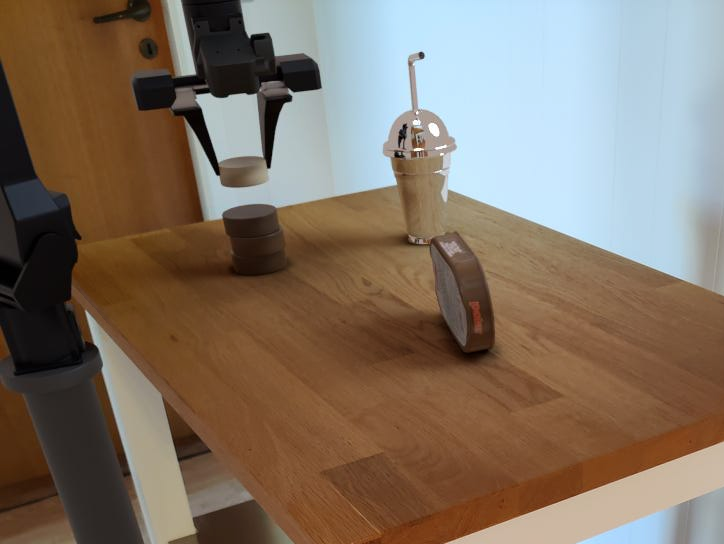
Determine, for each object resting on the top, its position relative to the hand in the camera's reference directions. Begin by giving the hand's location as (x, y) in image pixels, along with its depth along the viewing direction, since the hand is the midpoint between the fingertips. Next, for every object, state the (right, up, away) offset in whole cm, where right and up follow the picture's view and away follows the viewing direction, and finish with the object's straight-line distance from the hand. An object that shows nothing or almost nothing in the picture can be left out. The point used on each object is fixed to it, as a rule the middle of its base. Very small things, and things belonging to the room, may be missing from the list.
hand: (243, 171), depth 107 cm
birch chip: (0, -1, +1) cm, 1 cm away
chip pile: (0, -8, +6) cm, 10 cm away
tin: (+24, -22, -14) cm, 35 cm away
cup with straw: (+19, -3, +11) cm, 22 cm away
